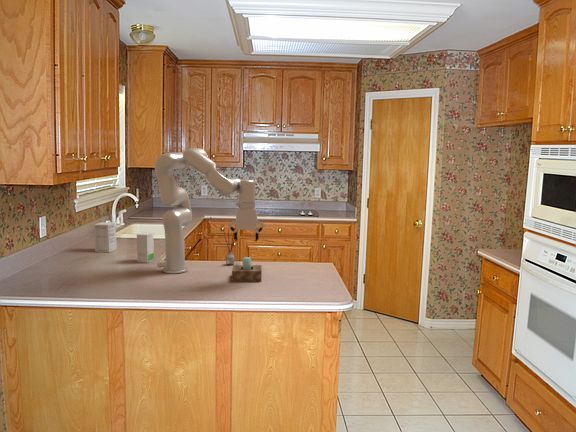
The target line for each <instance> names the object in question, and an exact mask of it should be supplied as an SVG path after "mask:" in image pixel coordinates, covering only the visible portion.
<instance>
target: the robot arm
mask: <svg viewBox="0 0 576 432" xmlns="http://www.w3.org/2000/svg"><path fill="white" fill-rule="evenodd" d="M188 168H192V169H193V170H194V171H195V172H197V173H199V174H200V175H201V176H203V177H204V178H205V180H206V182H207V183H208V185H210V186H211V187H212V188H214V190H216V191H217V192H219V193H221V194H222V195H223V196H224V195H225V196H230V195H235V194H236V195H237V194H238V202H236V203H235V206H237V208H236V214H235V220H233V221H230V222H228V226H229V228H230V231H232V232H233V233H234V236H233V240H234V241H235V242H237V241H238V231H239V230H243V231H244V230H245V231H248V230H249V231H255V242H258V240H259V233H260V232H262V230H263V229H264V227H265V226H266V225H265V223H264V222H262V221H260V220H258V212H257V208H256V181H255V180H253V179H242V178H235V177H233V178H227V177H225V176H224V175H223V174H221V173H220V172H219V171H218V170H217V164H216V162H214V161H213V160H211V159H210V158H209V157H208V154H207V152H206V151H205V150H204V149H203V148H199V147H190V148H187V149H185V150H184V151H180V152H178V151H177V152H165V153H162V154H160V155H159V156H158V157H157V159H156V161H155V164H154V171H155V175H156V179H157V184H158V190H159V194H160V198H161V203H162V204H163V206H165V207H167V208H172V207H173V208H174V209H169V210H167V211H166V212H165V213H164V215H163V216H162V224H163V228H164V229H163V230H164V240H165V241H164V243H165V245H164V247H165V261H164V262H157V264H156V266H157V267H158V268H162V272H163V273H166V274H182V273H186V272H188V271H189V268H188V266H186V257H185V254H186V253H185V252H186V251H185V250H186V249H185V248H186V246H185V233H184V229H183V227H185V226H187V225H189V224H190V223H191V222H192V220H193V210H192V206H191V201H190V197H189V194H188V192H187V190H186V189H185V188H183V187H179V186H177V182H176V178H175V176H174V174H173V172H172V171H173V170H184V169H188ZM234 224H235V228H234V227H233V225H234ZM258 225H260V227H259V228H258Z"/></svg>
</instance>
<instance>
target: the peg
mask: <svg viewBox="0 0 576 432" xmlns="http://www.w3.org/2000/svg"><path fill="white" fill-rule="evenodd" d="M242 265H243V270H251V265H252V257H248V256H246V257H242Z"/></svg>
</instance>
